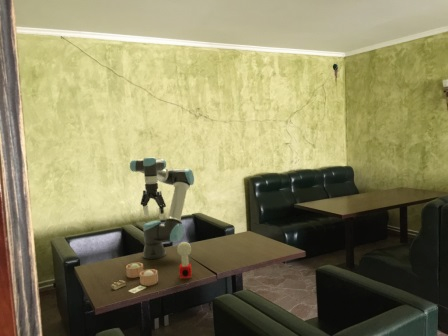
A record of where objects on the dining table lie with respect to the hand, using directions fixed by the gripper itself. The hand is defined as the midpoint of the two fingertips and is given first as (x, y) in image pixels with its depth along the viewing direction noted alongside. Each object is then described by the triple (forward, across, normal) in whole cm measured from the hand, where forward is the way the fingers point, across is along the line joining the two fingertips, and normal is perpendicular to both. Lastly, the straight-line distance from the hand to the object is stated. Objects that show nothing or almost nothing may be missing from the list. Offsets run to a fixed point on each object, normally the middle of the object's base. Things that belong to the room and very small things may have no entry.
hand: (153, 217), depth 223 cm
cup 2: (+32, +12, -17) cm, 38 cm away
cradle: (+32, +2, -30) cm, 44 cm away
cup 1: (+32, -4, -14) cm, 35 cm away
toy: (+32, +24, 0) cm, 40 cm away
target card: (+32, +14, -27) cm, 44 cm away
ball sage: (+28, -4, -14) cm, 32 cm away
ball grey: (+28, +12, -17) cm, 35 cm away
